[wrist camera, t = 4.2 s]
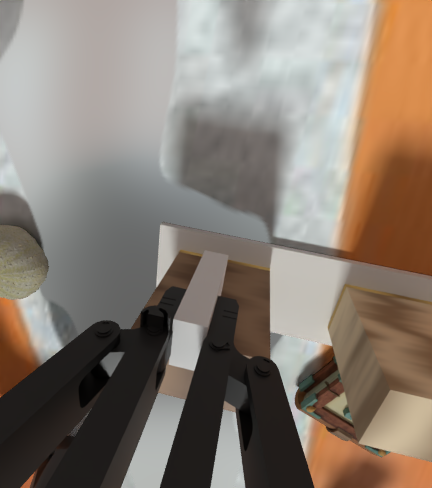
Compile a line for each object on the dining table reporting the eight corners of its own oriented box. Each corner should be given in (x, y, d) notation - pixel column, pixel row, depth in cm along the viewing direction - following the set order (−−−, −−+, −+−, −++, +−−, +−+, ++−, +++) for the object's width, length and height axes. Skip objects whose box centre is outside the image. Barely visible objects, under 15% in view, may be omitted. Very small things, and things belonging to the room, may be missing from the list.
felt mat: (157, 301, 37) (155, 305, 36) (162, 221, 32) (160, 224, 32) (427, 362, 34) (430, 368, 34) (477, 285, 29) (482, 289, 29)
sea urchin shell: (-28, 283, 37) (-77, 265, 30) (12, 232, 40) (-23, 204, 33) (36, 313, 37) (3, 302, 30) (72, 259, 40) (50, 237, 33)
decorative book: (389, 448, 42) (404, 488, 37) (290, 387, 40) (293, 422, 36) (475, 402, 36) (504, 443, 32) (363, 328, 34) (377, 361, 30)
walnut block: (176, 293, 35) (129, 385, 23) (180, 249, 32) (130, 328, 21) (258, 311, 34) (252, 416, 23) (269, 268, 32) (270, 361, 20)
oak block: (327, 327, 34) (358, 443, 22) (345, 283, 31) (390, 389, 19) (417, 347, 33) (499, 479, 21) (443, 304, 30) (553, 428, 18)
